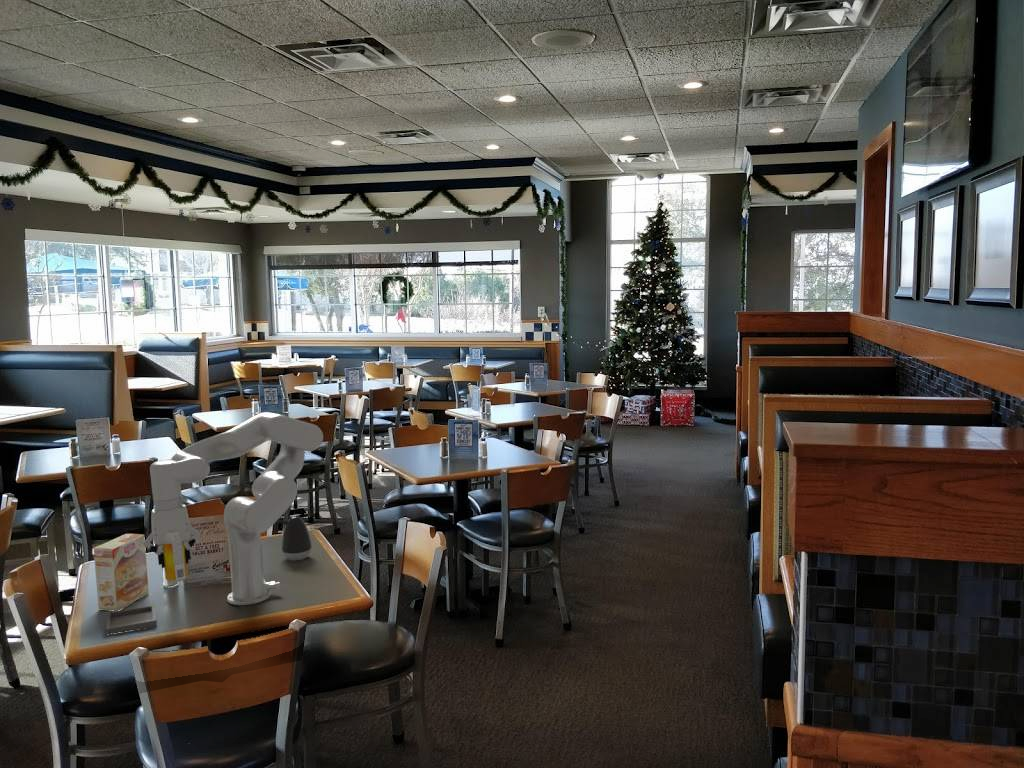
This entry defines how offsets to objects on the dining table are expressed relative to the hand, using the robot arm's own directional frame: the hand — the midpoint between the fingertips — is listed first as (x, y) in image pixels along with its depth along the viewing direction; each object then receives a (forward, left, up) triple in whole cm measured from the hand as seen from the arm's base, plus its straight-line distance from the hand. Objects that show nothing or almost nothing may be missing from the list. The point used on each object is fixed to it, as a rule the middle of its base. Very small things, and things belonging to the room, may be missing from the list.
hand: (175, 563), depth 245 cm
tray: (+13, -4, -17) cm, 21 cm away
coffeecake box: (+15, -23, -17) cm, 32 cm away
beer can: (0, 0, -5) cm, 5 cm away
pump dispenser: (-40, -39, -17) cm, 58 cm away
